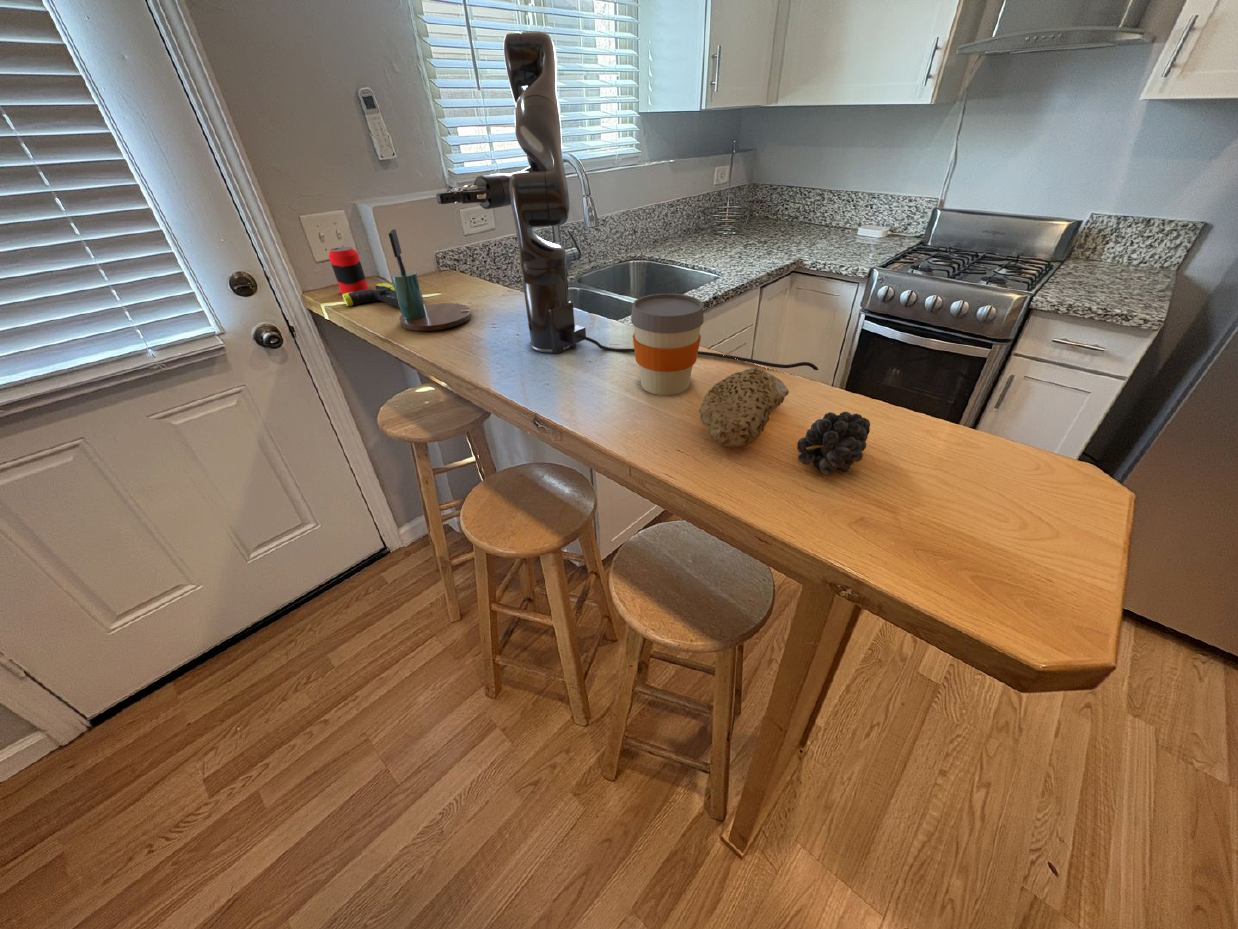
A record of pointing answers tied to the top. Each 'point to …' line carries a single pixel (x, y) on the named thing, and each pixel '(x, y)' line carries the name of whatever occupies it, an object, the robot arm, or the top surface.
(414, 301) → the teal post stand
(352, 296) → the stun gun
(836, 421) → the fruit
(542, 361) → the top surface
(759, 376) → the sponge
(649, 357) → the reusable coffee cup
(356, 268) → the soda can
